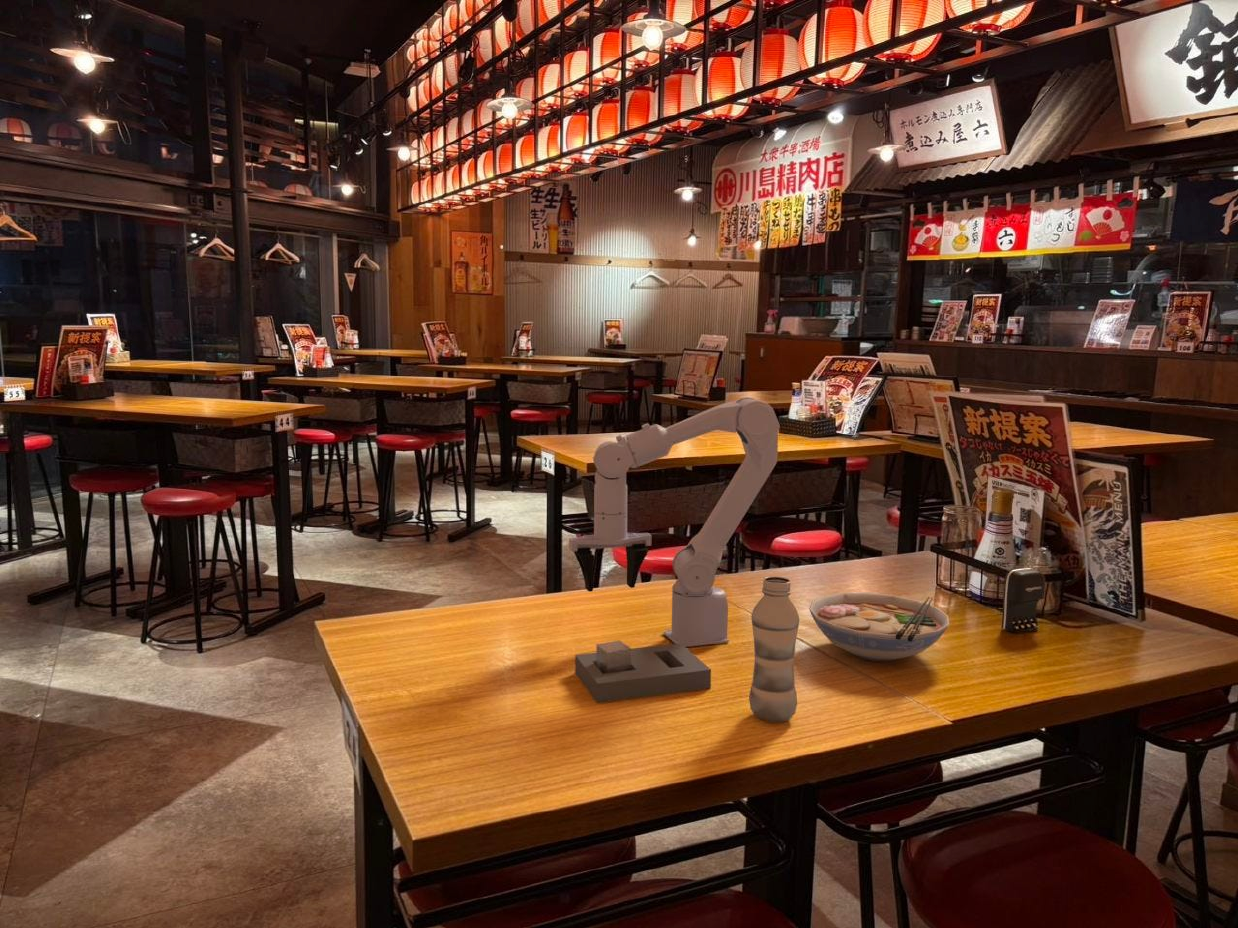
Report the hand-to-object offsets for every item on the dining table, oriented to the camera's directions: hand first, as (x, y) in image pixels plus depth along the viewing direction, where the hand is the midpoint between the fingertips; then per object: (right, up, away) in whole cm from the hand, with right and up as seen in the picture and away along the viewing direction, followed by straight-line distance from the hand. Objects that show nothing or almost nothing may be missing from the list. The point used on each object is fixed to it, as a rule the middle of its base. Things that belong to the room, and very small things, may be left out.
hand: (610, 587), depth 152 cm
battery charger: (+76, -9, +8) cm, 77 cm away
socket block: (+5, -12, -17) cm, 21 cm away
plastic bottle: (+23, -14, -29) cm, 40 cm away
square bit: (+1, -12, -18) cm, 22 cm away
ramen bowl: (+45, -11, -4) cm, 47 cm away
